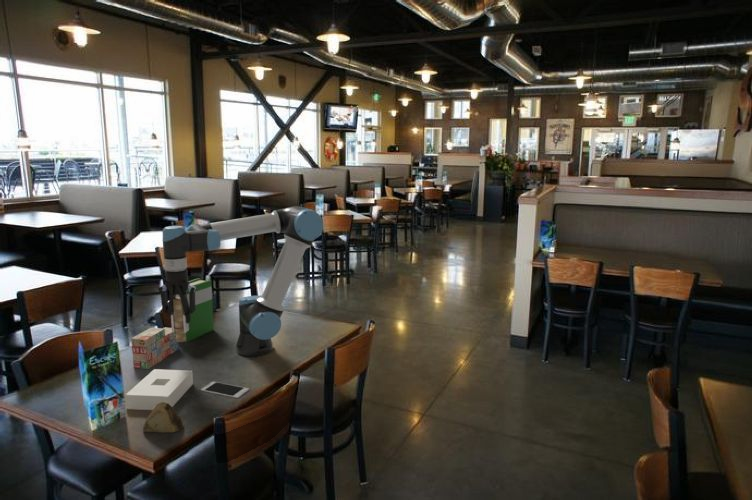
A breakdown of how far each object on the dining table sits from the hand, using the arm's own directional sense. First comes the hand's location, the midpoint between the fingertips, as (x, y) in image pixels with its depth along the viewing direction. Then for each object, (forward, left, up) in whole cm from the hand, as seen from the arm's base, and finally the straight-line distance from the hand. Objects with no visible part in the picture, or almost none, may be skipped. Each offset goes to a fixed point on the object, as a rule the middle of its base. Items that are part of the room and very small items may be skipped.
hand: (180, 330), depth 193 cm
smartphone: (-20, +11, -18) cm, 29 cm away
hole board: (0, +17, -17) cm, 24 cm away
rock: (-10, +38, -17) cm, 43 cm away
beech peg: (0, 0, -4) cm, 4 cm away
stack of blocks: (+16, -14, -18) cm, 28 cm away
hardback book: (+12, -42, -17) cm, 47 cm away
